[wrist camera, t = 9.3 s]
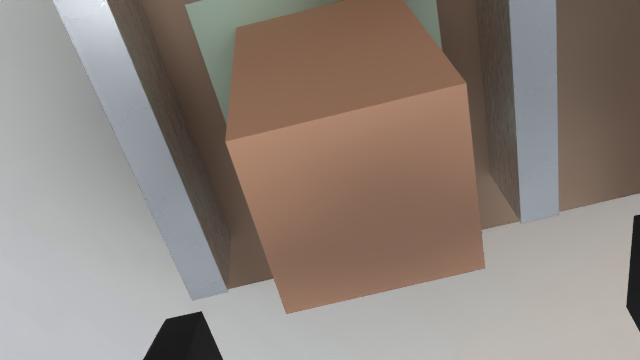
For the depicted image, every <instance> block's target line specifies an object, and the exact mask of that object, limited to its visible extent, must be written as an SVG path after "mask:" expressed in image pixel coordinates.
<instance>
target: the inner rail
mask: <svg viewBox="0 0 640 360" xmlns="http://www.w3.org/2000/svg"><path fill="white" fill-rule="evenodd" d="M475 2H476V14H477V26H478V37H479V49H480V61H481V72H482V84H483V96H484V108H485V119H486V131H487V143H488V154H489V166H490V175H491V177H492V178H493V180H494V181H495V183H496V185H497V186H498V188H499V189H500V191H501V192H502V194H503V196H504V197H505V199H506V200H507V202H508V203H509V205H510V207H511V208H512V210H513V211H514V213H515V215H516V216H517V218H518V219H519V221H520V222H521V224H522V223H526V222H531V221H535V220H539V219H544V218H548V217H552V216H556V215H559V188H558V111H557V33H556V0H475Z"/></svg>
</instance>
